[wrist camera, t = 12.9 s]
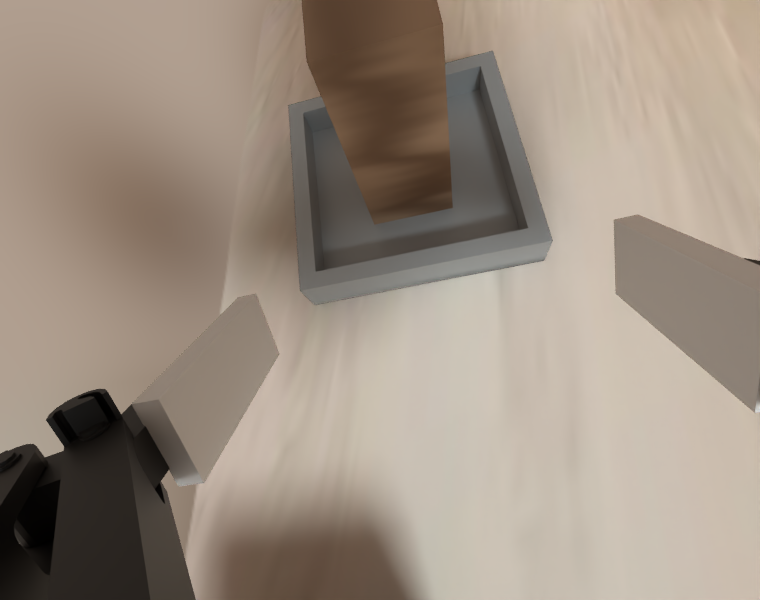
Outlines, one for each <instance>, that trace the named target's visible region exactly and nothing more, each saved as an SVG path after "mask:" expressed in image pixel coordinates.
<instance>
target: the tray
mask: <svg viewBox="0 0 760 600" xmlns="http://www.w3.org/2000/svg"><path fill="white" fill-rule="evenodd" d="M445 74H446V92H447V111H448V129H449V147H450V166H451V184H452V202H453V208H450V209H445V210H441V211H436V212H431V213H427V214H422V215H417V216H413V217H408V218H403V219H399V220H394V221H389V222H384V223H380V224H375V225H374V222H373V220H372V218H371V215H370V213H369V210H368V208H367V205H366V203H365V201H364V198H363V196H362V193H361V191H360V189H359V186H358V184H357V181H356V179H355V177H354V174H353V172H352V169H351V167H350V164H349V162H348V160H347V157H346V155H345V152H344V150H343V148H342V145H341V143H340V140H339V138H338V136H337V133H336V131H335V128H334V126H333V124H332V121H331V119H330V116H329V114H328V111H327V109H326V107H325V104H324V102H323V99H322V97H317V98H314V99H310V100H306V101H302V102H299V103H295V104H291V105H288V106H289V122H290V138H291V154H292V170H293V186H294V202H295V218H296V234H297V250H298V266H299V282H300V291H301V292H302V293H303V294H304V295H305V296H306V297H307V298H308V299H309V300H310V301H311V302H312V303H314V304H315V305H317V304H322V303H327V302H332V301H337V300H342V299H348V298H353V297H358V296H363V295H368V294H373V293H379V292H384V291H389V290H394V289H399V288H404V287H410V286H415V285H420V284H425V283H430V282H435V281H441V280H446V279H451V278H456V277H461V276H466V275H472V274H477V273H482V272H487V271H492V270H498V269H503V268H508V267H513V266H518V265H523V264H529V263H534V262H539V261H544V260H545V257H546V255H547V253H548V250H549V248H550V246H551V243H552V241H553V240H552V237H551V234H550V230H549V227H548V224H547V221H546V218H545V215H544V211H543V208H542V205H541V202H540V199H539V196H538V192H537V189H536V186H535V183H534V180H533V177H532V173H531V170H530V167H529V164H528V161H527V157H526V154H525V151H524V148H523V145H522V142H521V138H520V135H519V132H518V129H517V126H516V123H515V119H514V116H513V113H512V110H511V107H510V104H509V100H508V97H507V94H506V91H505V88H504V84H503V81H502V78H501V75H500V72H499V69H498V65H497V62H496V59H495V56H494V53H493V51H490V52H486V53H482V54H478V55H475V56H471V57H467V58H463V59H460V60H456V61H452V62H448V63H445Z"/></svg>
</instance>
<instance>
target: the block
mask: <svg viewBox="0 0 760 600" xmlns="http://www.w3.org/2000/svg"><path fill="white" fill-rule="evenodd" d="M302 9H303V21H304V33H305V46H306V58H307V63H308V66H309V68H310V70H311V73H312V75H313V78H314V80H315V83H316V85H317V87H318V90H319V92H320V95H321V97H322V99H323V102H324V104H325V107H326V109H327V111H328V114H329V116H330V119H331V121H332V124H333V126H334V128H335V131H336V133H337V136H338V138H339V140H340V143H341V145H342V148H343V150H344V152H345V155H346V157H347V160H348V162H349V164H350V167H351V169H352V172H353V174H354V177H355V179H356V181H357V184H358V186H359V189H360V191H361V193H362V196H363V198H364V201H365V203H366V205H367V208H368V210H369V213H370V215H371V218H372V220H373V222H374V225H375V224H380V223H384V222H389V221H394V220H399V219H403V218H408V217H413V216H417V215H422V214H427V213H431V212H436V211H441V210H445V209H450V208H453V202H452V184H451V166H450V147H449V129H448V111H447V92H446V74H445V56H444V37H443V23H442V19H441V15H440V11H439V7H438V3H437V0H302Z"/></svg>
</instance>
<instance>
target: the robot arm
mask: <svg viewBox="0 0 760 600" xmlns="http://www.w3.org/2000/svg"><path fill="white" fill-rule="evenodd" d="M614 246H615V285H616V294H617V295H618V296H619V297H620V298H621V299H623V300H624V301H625V302H626V303H627V304H628V305H630V306H631V307H632V308H633V309H634V310H635V311H637V312H638V313H639V314H640V315H641V316H642V317H644V318H645V319H646V320H647V321H648V322H649V323H651V324H652V325H653V326H654V327H655V328H656V329H658V330H659V331H660V332H661V333H662V334H663V335H665V336H666V337H667V338H668V339H669V340H670V341H672V342H673V343H674V344H675V345H676V346H677V347H679V348H680V349H681V350H682V351H683V352H684V353H686V354H687V355H688V356H689V357H690V358H691V359H693V360H694V361H695V362H696V363H697V364H698V365H700V366H701V367H702V368H703V369H704V370H705V371H707V372H708V373H709V374H710V375H711V376H712V377H714V378H715V379H716V380H717V381H718V382H719V383H721V384H722V385H723V386H724V387H725V388H726V389H728V390H729V391H730V392H731V393H732V394H733V395H735V396H736V397H737V398H738V399H739V400H740V401H742V402H743V403H744V404H745V405H746V406H747V407H749V408H750V409H751V410H752V411H753V412H754V413H758V412H760V261H757V260H752V259H746V258H744V259H743V258H741V257H738V256H736V255H734V254H731V253H729V252H726V251H724V250H722V249H719V248H717V247H714V246H712V245H710V244H707V243H705V242H702V241H700V240H698V239H695V238H693V237H690V236H688V235H686V234H683V233H681V232H678V231H676V230H674V229H671V228H669V227H666V226H664V225H662V224H659V223H657V222H654V221H652V220H650V219H647V218H645V217H642V216H640V215H634V216H629V217H625V218H620V219H615V220H614ZM278 355H279V352H278V349H277V346H276V344H275V341H274V339H273V336H272V334H271V331H270V328H269V326H268V323H267V321H266V318H265V315H264V313H263V310H262V308H261V305H260V303H259V300H258V297H257V295H256V294H253V295H248V296H243V297H238V298H237V299H236V300H235V301H234V302H233V303H232V304H231V305H230V306H229V307H228V308H227V309H226V310H225V311H224V312H223V313H222V314H221V315H220V316H219V317H218V318H217V319H216V320H215V321H214V322H213V323H212V324H211V325H210V326H209V327H208V328H207V329H206V330H205V331H204V332H203V333H202V334H201V335H200V336H199V337H198V338H197V339H196V340H195V341H194V342H193V343H192V344H191V345H190V346H189V347H188V348H187V349H186V350H185V351H184V352H183V353H182V354H181V355H180V356H179V357H178V358H177V359H176V360H175V361H174V362H173V363H172V364H171V365H170V366H169V367H168V368H167V369H166V370H165V371H164V372H163V373H162V374H161V375H160V376H159V377H158V378H157V379H156V380H155V381H154V382H153V383H152V384H151V385H150V386H149V387H148V388H147V389H146V390H145V391H144V392H143V393H142V394H141V395H140V396H139V397H138V398H137V399H136V400H135V401H134V402H133V403H132V404H131V405H130V406H129V407H128V408H127V410H126V411H125V412H123V414H120V412H119V410H118V409H117V407H116V405H115V404H114V402H113V400H112V398H111V397H110V395H109V393H108V392H107V391H106V390H105V389H96V390H92V391H88V392H86V393H83V394H81V395H78V396H76V397H74V398H72V399H70V400H69V401H67V402H65V403H64V404H62V405H60V406H59V407H57V408H56V409H55V410H54V411H53V412H52V413H51V414H50V415H49V416H48V418H47V419H46V421H47V422H48V423H49V425H50V426H51V428H52V429H53V431H54V432H55V434H56V435H57V437H58V438H59V440H60V441H61V443H62V444H63V445H64V451H62V452H59V453H57V454H54V455H51V456H48V457H44V456H43V455H42V453H41V452H40V451H39V449H38V448H37V446H35V445H34V444H26V445H23V446H20V447H16V448H14V449H12V450H9V451H5V452H3V453H1V454H0V600H196V599H195V595H194V592H193V588H192V584H191V580H190V577H189V573H188V569H187V565H186V562H185V558H184V554H183V550H182V547H181V543H180V539H179V535H178V532H177V528H176V524H175V521H174V517H173V513H172V509H171V506H170V502H169V498H168V494H167V491H166V489H165V488H164V486H163V484H162V483H161V480H162V479H163V477H164V476H165V474H166V473H167V471H168V470H170V472H171V474H172V476H173V477H174V479H175V481H176V483H177V484H178V486H184V485H192V484H200V483H204V482H205V481H206V479H207V477H208V475H209V474H210V472H211V470H212V469H213V467H214V465H215V463H216V462H217V460H218V458H219V457H220V455H221V453H222V451H223V450H224V448H225V446H226V445H227V443H228V441H229V439H230V438H231V436H232V434H233V433H234V431H235V429H236V427H237V426H238V424H239V422H240V420H241V419H242V417H243V415H244V414H245V412H246V410H247V408H248V407H249V405H250V403H251V402H252V400H253V398H254V396H255V395H256V393H257V391H258V390H259V388H260V386H261V384H262V383H263V381H264V379H265V378H266V376H267V374H268V372H269V371H270V369H271V367H272V366H273V364H274V362H275V360H276V359H277V357H278ZM19 543H20V544H19Z"/></svg>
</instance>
